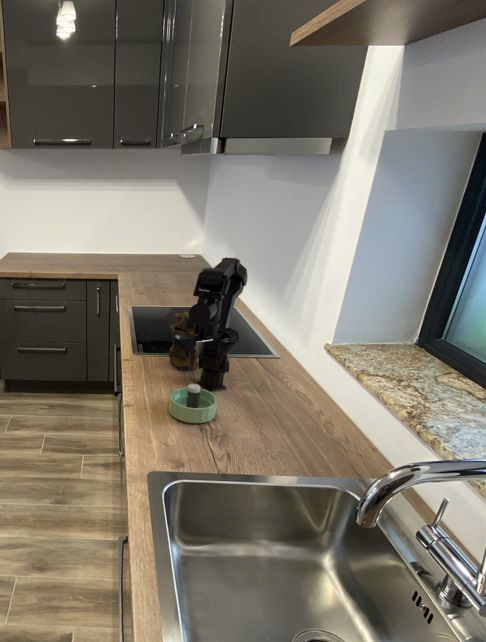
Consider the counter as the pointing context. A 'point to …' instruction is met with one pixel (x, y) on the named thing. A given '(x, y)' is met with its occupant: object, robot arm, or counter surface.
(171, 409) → the bowl
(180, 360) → the pottery vessel
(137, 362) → the counter surface
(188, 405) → the shaker
